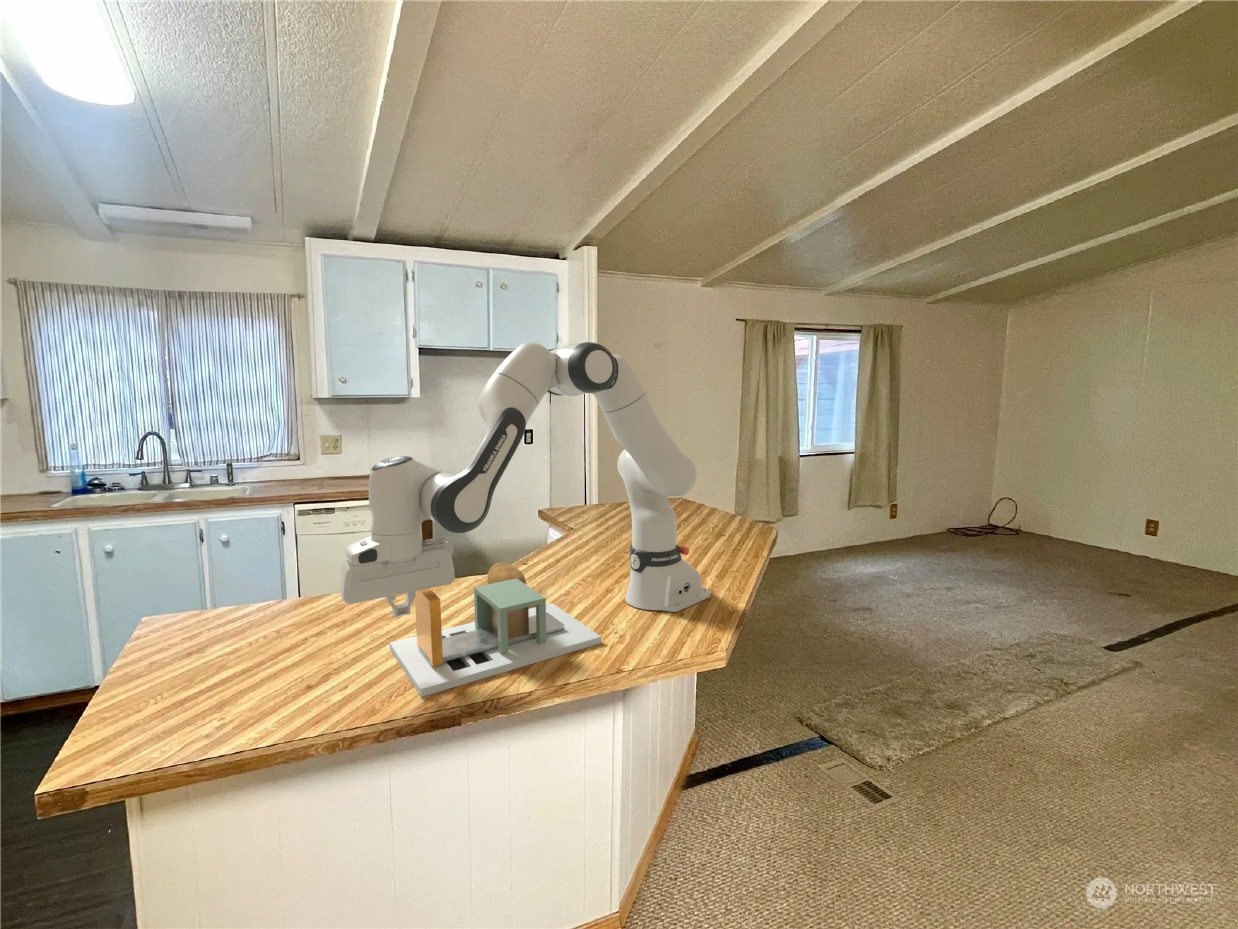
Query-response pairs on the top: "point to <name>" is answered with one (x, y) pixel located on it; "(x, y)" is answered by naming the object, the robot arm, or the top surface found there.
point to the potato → (504, 573)
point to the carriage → (472, 641)
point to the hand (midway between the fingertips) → (401, 614)
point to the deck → (490, 654)
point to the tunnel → (508, 608)
